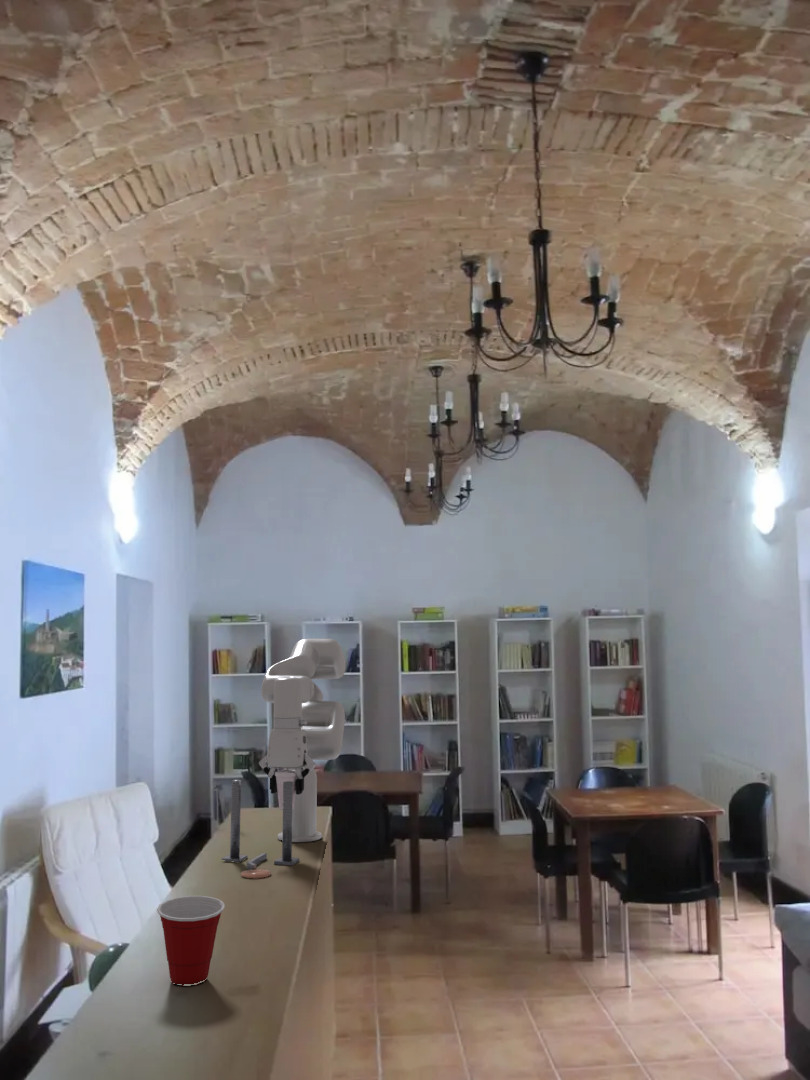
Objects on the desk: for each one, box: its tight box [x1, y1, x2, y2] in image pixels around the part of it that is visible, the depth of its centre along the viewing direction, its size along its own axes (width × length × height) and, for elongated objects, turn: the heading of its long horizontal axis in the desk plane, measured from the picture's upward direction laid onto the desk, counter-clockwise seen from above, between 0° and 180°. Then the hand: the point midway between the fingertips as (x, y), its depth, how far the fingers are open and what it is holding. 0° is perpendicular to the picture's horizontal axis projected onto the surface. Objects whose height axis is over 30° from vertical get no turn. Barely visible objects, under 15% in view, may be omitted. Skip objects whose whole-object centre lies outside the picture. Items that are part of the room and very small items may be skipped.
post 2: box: [273, 781, 300, 866], centre depth 235 cm, size 5×5×20 cm
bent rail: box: [246, 852, 268, 870], centre depth 232 cm, size 14×3×2 cm, turn 168°
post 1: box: [221, 779, 248, 863], centre depth 238 cm, size 5×5×20 cm
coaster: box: [240, 868, 272, 880], centre depth 221 cm, size 7×7×1 cm
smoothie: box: [275, 768, 298, 811], centre depth 244 cm, size 6×6×14 cm
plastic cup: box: [156, 895, 226, 985], centre depth 151 cm, size 11×11×12 cm
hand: (286, 792), depth 244 cm, fingers closed on smoothie, 6 cm apart
